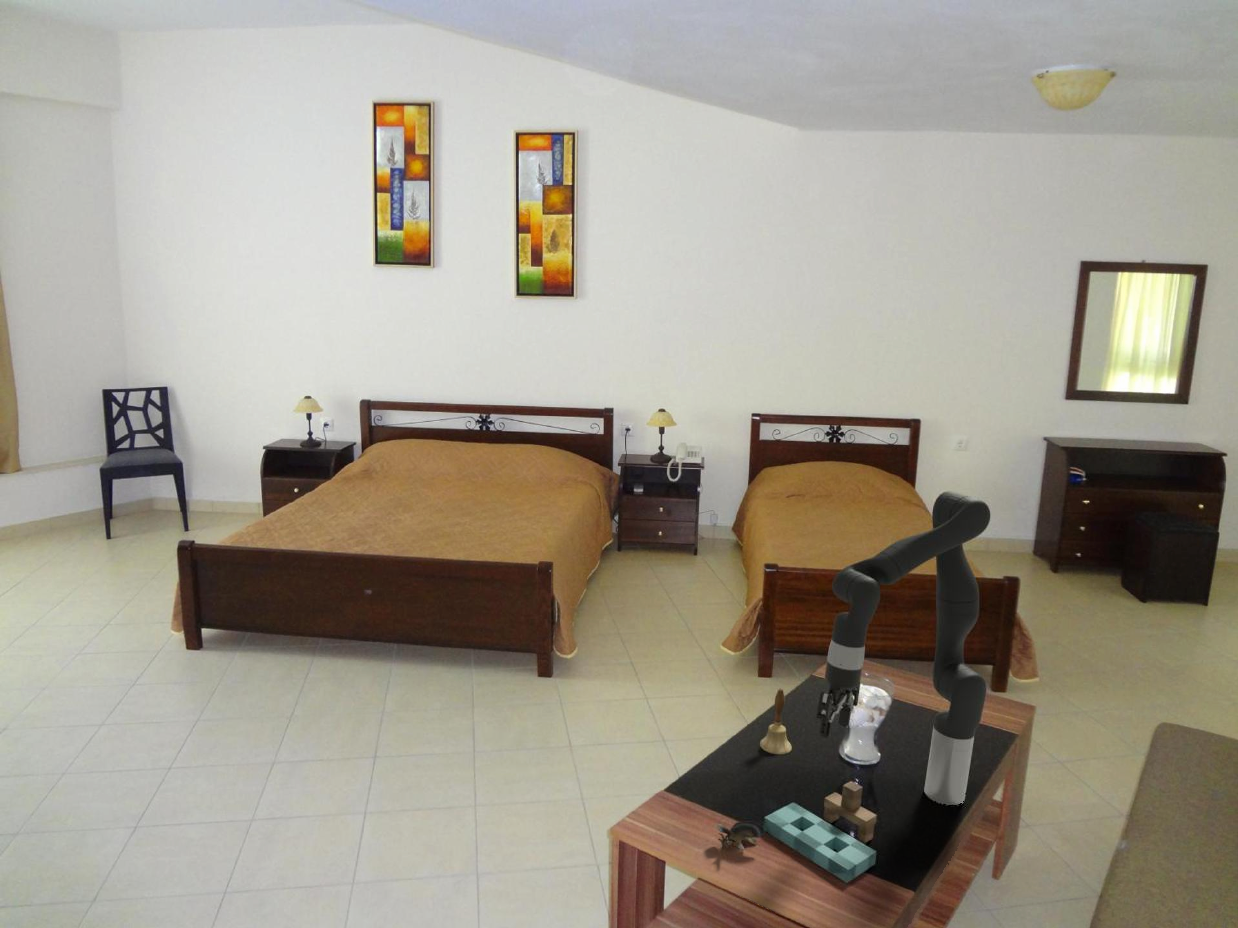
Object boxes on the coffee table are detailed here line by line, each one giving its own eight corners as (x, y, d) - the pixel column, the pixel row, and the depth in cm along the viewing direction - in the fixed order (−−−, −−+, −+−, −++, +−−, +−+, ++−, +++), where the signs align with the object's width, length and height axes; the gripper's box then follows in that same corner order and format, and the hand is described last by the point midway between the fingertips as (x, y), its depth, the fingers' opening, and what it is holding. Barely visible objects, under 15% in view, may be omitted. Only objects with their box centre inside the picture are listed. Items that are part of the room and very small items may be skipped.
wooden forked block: (822, 819, 201) (827, 777, 199) (832, 813, 203) (837, 772, 201) (863, 844, 193) (869, 800, 190) (873, 837, 195) (879, 794, 193)
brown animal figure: (737, 861, 182) (771, 842, 187) (724, 826, 184) (758, 809, 188) (720, 860, 189) (753, 842, 193) (707, 826, 191) (740, 809, 195)
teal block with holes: (763, 829, 196) (764, 817, 195) (791, 813, 202) (793, 801, 202) (846, 882, 179) (848, 869, 179) (874, 864, 186) (876, 851, 185)
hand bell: (754, 747, 231) (760, 690, 228) (767, 735, 238) (773, 680, 234) (784, 758, 226) (790, 700, 223) (796, 745, 233) (802, 689, 230)
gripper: (844, 675, 184) (833, 747, 187) (875, 659, 194) (864, 728, 197) (813, 662, 189) (802, 733, 191) (845, 648, 199) (834, 715, 202)
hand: (834, 730), depth 194 cm, fingers open, 8 cm apart
